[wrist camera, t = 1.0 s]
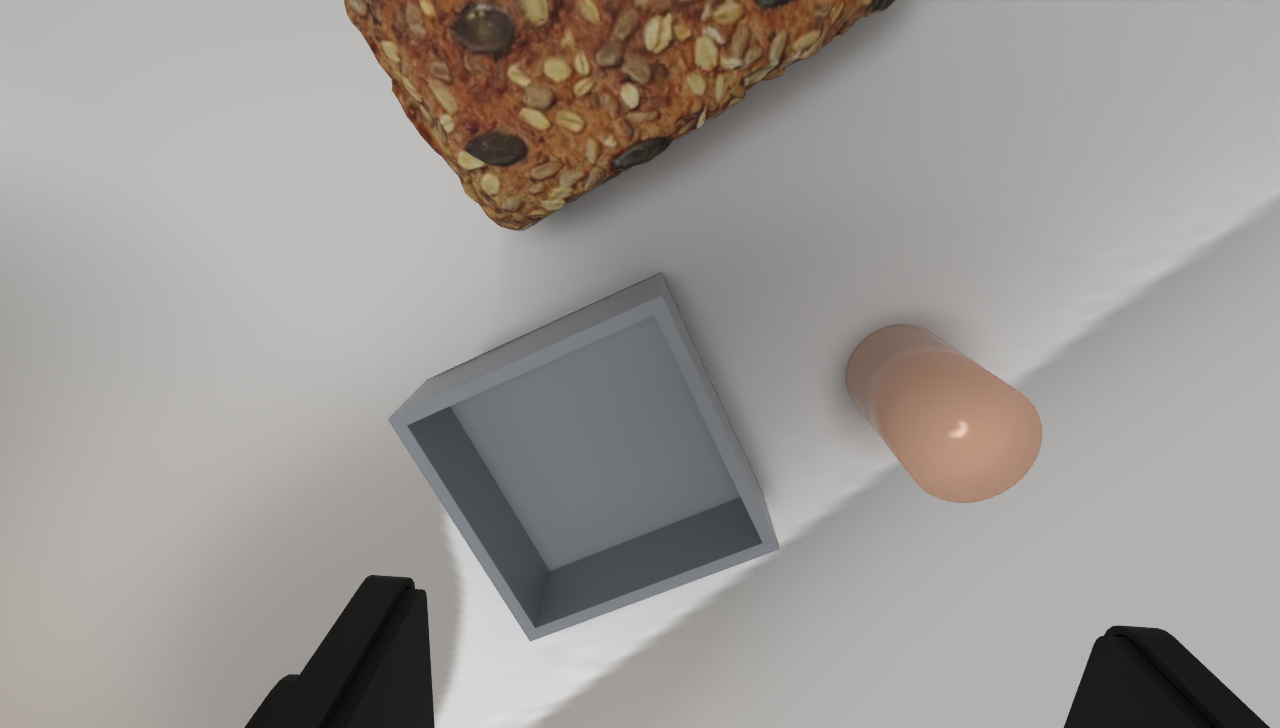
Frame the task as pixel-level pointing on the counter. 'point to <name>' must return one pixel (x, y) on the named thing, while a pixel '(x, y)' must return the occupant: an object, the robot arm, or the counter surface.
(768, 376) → the counter surface
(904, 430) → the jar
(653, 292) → the bin
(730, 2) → the bread
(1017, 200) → the counter surface
